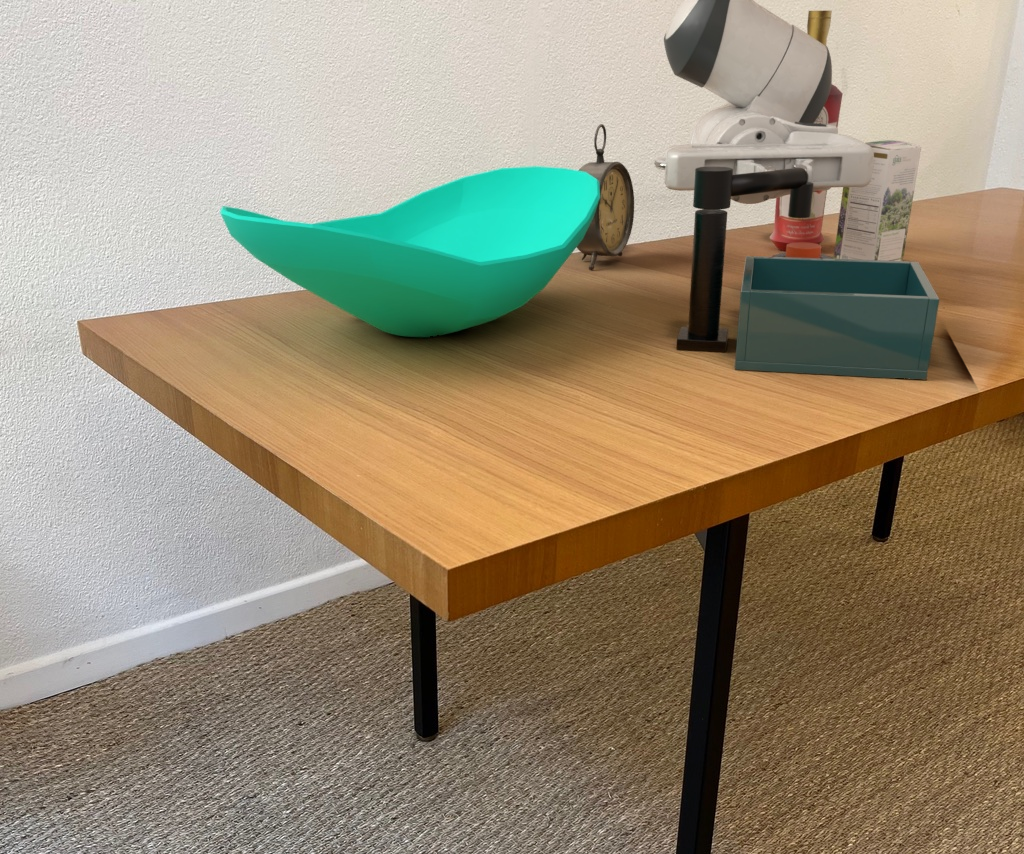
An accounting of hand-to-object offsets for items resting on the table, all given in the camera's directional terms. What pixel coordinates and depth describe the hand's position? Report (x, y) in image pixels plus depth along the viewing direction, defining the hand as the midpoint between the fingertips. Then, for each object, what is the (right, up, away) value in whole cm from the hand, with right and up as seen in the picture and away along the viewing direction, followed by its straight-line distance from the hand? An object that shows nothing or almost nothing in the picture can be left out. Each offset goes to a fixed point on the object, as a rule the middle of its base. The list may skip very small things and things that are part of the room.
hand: (785, 177), depth 97 cm
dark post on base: (-8, -16, 0) cm, 17 cm away
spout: (-3, -5, -2) cm, 6 cm away
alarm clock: (-15, 0, +33) cm, 36 cm away
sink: (+3, -17, -2) cm, 17 cm away
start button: (+6, -4, +15) cm, 17 cm away
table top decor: (-34, -13, +6) cm, 37 cm away
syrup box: (+16, -3, +26) cm, 31 cm away
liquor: (+12, +3, +39) cm, 41 cm away
